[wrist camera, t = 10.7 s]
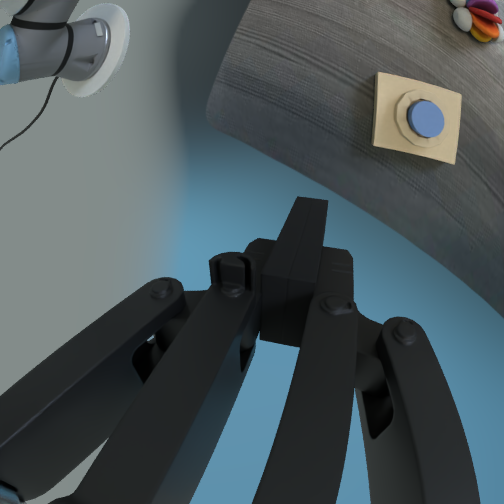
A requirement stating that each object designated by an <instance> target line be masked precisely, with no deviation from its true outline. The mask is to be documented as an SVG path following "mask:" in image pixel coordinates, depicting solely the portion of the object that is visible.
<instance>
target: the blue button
mask: <svg viewBox="0 0 504 504" xmlns="http://www.w3.org/2000/svg"><path fill="white" fill-rule="evenodd" d="M408 122H409V124H410V126H411V128H412V129H413V130H414V131H415V132H416V133H418V134H420V135H422V136H425V137H436V136H438V135H439V134H440V133H441V132H442V130H443V128H444V116H443V113H442V111H441V110H440V108H439V107H438V106H437V105H435V104H434V103H432V102H429V101H418V102H415V103H413V104H412V105H411V106H410V108H409V110H408Z"/></svg>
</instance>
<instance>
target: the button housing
mask: <svg viewBox="0 0 504 504" xmlns="http://www.w3.org/2000/svg"><path fill="white" fill-rule="evenodd" d="M418 101H429V102H432V103H434V104H435V105H437V106H438V107H439V108H440V110H441V111H442V113H443V116H444V128H443V130H442V132H441V133H440V134H439V135H438V136H436V137H425V136H422V135H420V134H418V133H416V132H415V131H414V130H413V129H412V128H411V126H410V124H409V122H408V110H409V108H410V106H411V105H412V104H413V103H415V102H418ZM460 114H461V94H459V93H456V92H453V91H450V90H447V89H444V88H441V87H438V86H435V85H431V84H428V83H424V82H421V81H417V80H413V79H409V78H405V77H401V76H396V75H391V74H387V73H382V72H377V73H376V74H375V98H374V116H373V129H372V141H371V143H372V145H373V146H377V147H383V148H388V149H393V150H398V151H402V152H407V153H411V154H416V155H420V156H424V157H428V158H432V159H436V160H440V161H443V162H447V163H450V164H455V158H456V151H457V144H458V136H459V126H460Z"/></svg>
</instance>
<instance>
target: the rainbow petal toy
mask: <svg viewBox="0 0 504 504" xmlns="http://www.w3.org/2000/svg"><path fill="white" fill-rule="evenodd" d="M450 1H451V3H452V4H453V5H454V6H456V7H457V9H455V11H454V13H453V18H454V21H455V23H456V24H457V25H458V27H459V28H461V29H462V30H464V31H469V30H470V32H471V34H472V35H473V36H474V37H475V38H476V39H477V40H479V41H481V42H488V41H492V42H493V43H500V42H502V41H503V40H504V31H503V29H502V27H501V26H500V25H499V24H502V20H501V19H500V18H499V17H497V16H498V6H497V4H496V3H495V1H493V0H450Z"/></svg>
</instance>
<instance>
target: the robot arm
mask: <svg viewBox="0 0 504 504" xmlns="http://www.w3.org/2000/svg"><path fill="white" fill-rule="evenodd" d="M78 1H79V0H0V9H1V8H4V9H5V12H6V14H7V15H8V16H13V19H12V21H11V23H10V24H7V25H6V26H3V27H2V28H1V29H0V85H5V84H12V83H14V84H16V83H18V82H21V81H27V80H32V79H38V78H44V77H49V76H56V77H55V79H54V81H53V83H52V85H51V87H50V90H49V93H48V95H47V98H46V101H45V103H44V106H43V107H42V109H41V111H40V113H39V114H38V115H37V116H36V117H35V119H34V120H33V121H32V122H31V123H30V124H29V125H28V126H27V127H26V128H25V129H24V130H23V131H22V132H20V133H19V134H17V135H16V136H14V137H13V138H12V139H10V140H8V141H7V142H6V143H4V144H3V145H2V146H1V147H0V150H1V149H2V148H3V147H4V146H5V145H6V144H8V143H9V142H10V141H12V140H14V139H15V138H17V137H18V136H20V135H21V134H23V133H24V132H25V131H26V130H27V129H28V128H30V126H31V125H32V124H33V123H34V122H35V121H36V120H37V119H38V118H39V116H40V115H41V114H42V112H43V111H44V109H45V107H46V105H47V103H48V100H49V98H50V95H51V92H52V89H53V87H54V85H55V83H56V81H57V79H58V78H59V77H61V78H64V79H68V80H71V81H85V80H87V79H89V78H91V77H92V76H94V75H95V74H96V73H97V72H98V70H99V69H100V68H101V66H102V65H103V63H104V61H105V59H106V57H107V54H108V51H109V48H110V43H111V31H110V27H109V25H108V23H107V22H106V21H105V20H104V19H101V18H87V19H83V20H79V21H75V22H72V23H67V21H68V19H69V17H70V15H71V13H72V12H73V10H74V8H75V6H76V5H77V3H78ZM327 208H328V200H322V199H314V198H306V197H297V198H296V200H295V203H294V205H293V207H292V209H291V211H290V213H289V215H288V217H287V220H286V222H285V224H284V226H283V228H282V230H281V232H280V234H279V237H278V238H277V240H276V241H275V240H269V239H261V238H257V239H256V240H254V241H253V242H251V243H249V245H248V246H247V248H246V249H245V252H243V253H240V252H226V253H221V254H218V255H216V256H214V257H213V258H211V259H210V260H209V267H210V276H211V286H210V287H209V289H208V290H203V291H184V289H183V286H182V283H181V282H179V281H178V280H177V279H174V278H170V277H162V278H158V279H154V280H152V281H150V282H148V283H146V284H145V285H144V286H142V287H141V288H140V289H138V290H137V291H135V292H134V293H132V294H131V295H130V296H128V297H127V298H125V299H124V300H123V301H122V302H120V303H119V304H117V305H116V306H114V307H113V308H112V309H110V310H109V311H108V312H106V313H105V314H104V315H102V316H101V317H100V318H98V319H97V320H96V321H94V322H93V323H92V324H90V325H89V326H88V327H86V328H85V329H84V330H82V331H81V332H80V333H78V334H77V335H76V336H74V337H73V338H72V339H70V340H69V341H68V342H66V343H65V344H64V345H63V346H61V347H60V348H59V349H58V350H56V351H55V352H54V353H52V354H51V355H50V356H49V357H47V358H46V359H45V360H43V361H42V362H41V363H40V364H39V365H37V366H36V367H35V368H34V369H33V370H31V371H30V372H29V373H27V374H26V375H25V376H24V377H22V378H21V379H20V380H19V381H18V382H16V383H15V384H14V385H13V386H12V387H10V388H9V389H8V390H7V391H6V392H4V393H3V394H2V395H1V396H0V504H26V502H25V501H28V500H31V499H34V498H37V497H38V496H41V495H43V494H44V493H46V492H47V491H49V490H50V489H51V488H53V487H54V486H55V485H56V484H57V483H59V482H60V481H61V480H62V479H63V478H64V477H65V476H66V475H68V474H69V473H70V472H71V471H72V470H73V469H75V468H76V467H77V466H78V465H79V464H80V463H81V462H82V461H83V460H85V459H86V458H87V457H88V456H89V455H90V454H91V453H92V452H93V451H94V450H95V449H97V448H98V447H99V446H100V445H101V444H102V443H103V442H104V441H105V440H106V439H107V438H109V439H108V440H107V442H106V443H105V445H104V446H103V448H102V450H101V451H100V453H99V454H98V456H97V457H96V459H95V460H94V462H93V464H92V465H91V467H90V469H89V470H88V472H87V473H86V475H85V477H84V478H83V480H82V481H81V483H80V484H79V486H78V488H77V489H76V490H75V491H74V493H72V494H71V495H69V496H66V497H62V498H58V499H55V500H53V501H52V502H50V503H48V504H189V503H190V501H191V499H192V497H193V495H194V493H195V491H196V489H197V487H198V484H199V482H200V480H201V478H202V476H203V474H204V472H205V469H206V467H207V465H208V463H209V461H210V458H211V456H212V454H213V452H214V449H215V447H216V445H217V443H218V440H219V438H220V436H221V434H222V431H223V429H224V426H225V424H226V422H227V419H228V417H229V415H230V412H231V410H232V408H233V405H234V403H235V401H236V398H237V396H238V393H239V391H240V388H241V386H242V383H243V381H244V378H245V376H246V373H247V371H248V368H249V366H250V363H251V361H252V358H253V356H254V353H255V347H256V338H257V336H258V333H259V331H260V340H264V341H268V342H274V343H278V344H283V345H289V346H294V347H300V350H299V354H298V358H297V362H296V366H295V370H294V374H293V378H292V381H291V385H290V389H289V392H288V396H287V399H286V403H285V407H284V410H283V413H282V417H281V420H280V424H279V427H278V430H277V433H276V437H275V439H274V443H273V446H272V449H271V452H270V455H269V458H268V461H267V463H266V466H265V469H264V472H263V475H262V478H261V480H260V483H259V486H258V489H257V491H256V494H255V496H254V499H253V502H252V504H336V500H337V496H338V491H339V487H340V482H341V478H342V472H343V468H344V462H345V457H346V451H347V444H348V438H349V431H350V423H351V416H352V407H353V397H354V388H355V392H356V398H357V403H358V409H359V415H360V421H361V427H362V433H363V440H364V447H365V454H366V461H367V470H368V479H369V489H370V500H371V504H480V497H479V492H478V486H477V480H476V475H475V471H474V467H473V462H472V458H471V454H470V450H469V446H468V443H467V439H466V436H465V432H464V429H463V426H462V423H461V419H460V416H459V413H458V411H457V408H456V405H455V402H454V400H453V397H452V394H451V391H450V389H449V386H448V383H447V381H446V379H445V376H444V374H443V371H442V369H441V366H440V364H439V362H438V359H437V357H436V355H435V353H434V351H433V348H432V346H431V344H430V342H429V340H428V338H427V336H426V333H425V331H424V330H423V329H422V327H421V326H420V325H419V324H417V323H416V322H415V321H413V320H411V319H408V318H406V317H393V318H390V319H388V320H387V321H386V322H385V323H384V324H383V325H382V324H380V323H377V322H375V321H372V320H370V319H368V318H366V317H365V316H364V315H362V314H361V313H360V312H359V311H358V309H357V306H356V303H355V302H354V298H353V297H354V280H353V258H352V256H351V254H350V253H349V252H348V250H344V249H337V248H330V247H324V246H323V240H324V233H325V225H326V217H327ZM152 335H153V336H154V338H153V339H151V340H150V341H147V339H149V338H150V337H151V336H152Z"/></svg>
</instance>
